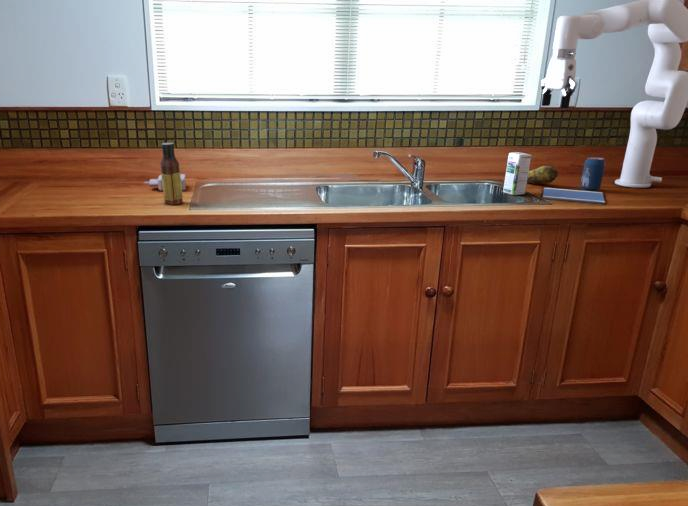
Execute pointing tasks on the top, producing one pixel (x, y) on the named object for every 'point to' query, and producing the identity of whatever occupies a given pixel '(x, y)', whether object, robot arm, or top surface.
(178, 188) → the sauce bottle
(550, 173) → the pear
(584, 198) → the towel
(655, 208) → the top surface
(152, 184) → the charger
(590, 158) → the soda can
